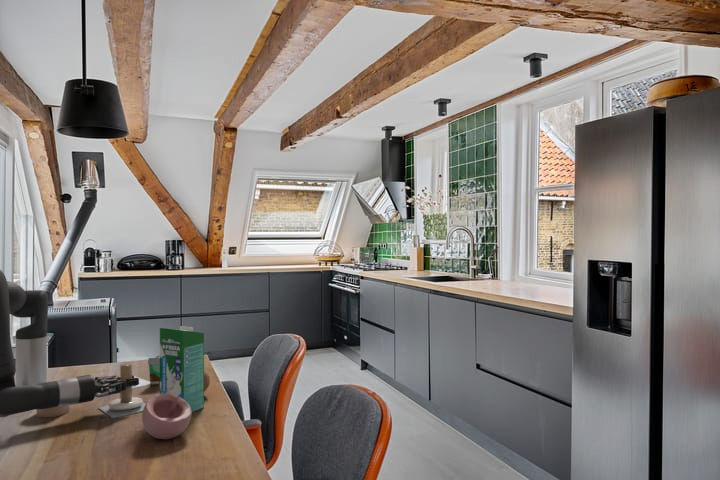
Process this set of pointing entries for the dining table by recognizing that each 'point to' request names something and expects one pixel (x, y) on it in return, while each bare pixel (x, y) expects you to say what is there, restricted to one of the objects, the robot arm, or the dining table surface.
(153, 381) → the food container
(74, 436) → the dining table surface
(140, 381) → the folded bicycle print towel
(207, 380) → the onion
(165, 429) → the pink rounded bowl
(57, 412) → the canister
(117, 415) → the mat
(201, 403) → the milk carton
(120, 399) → the beige piece
